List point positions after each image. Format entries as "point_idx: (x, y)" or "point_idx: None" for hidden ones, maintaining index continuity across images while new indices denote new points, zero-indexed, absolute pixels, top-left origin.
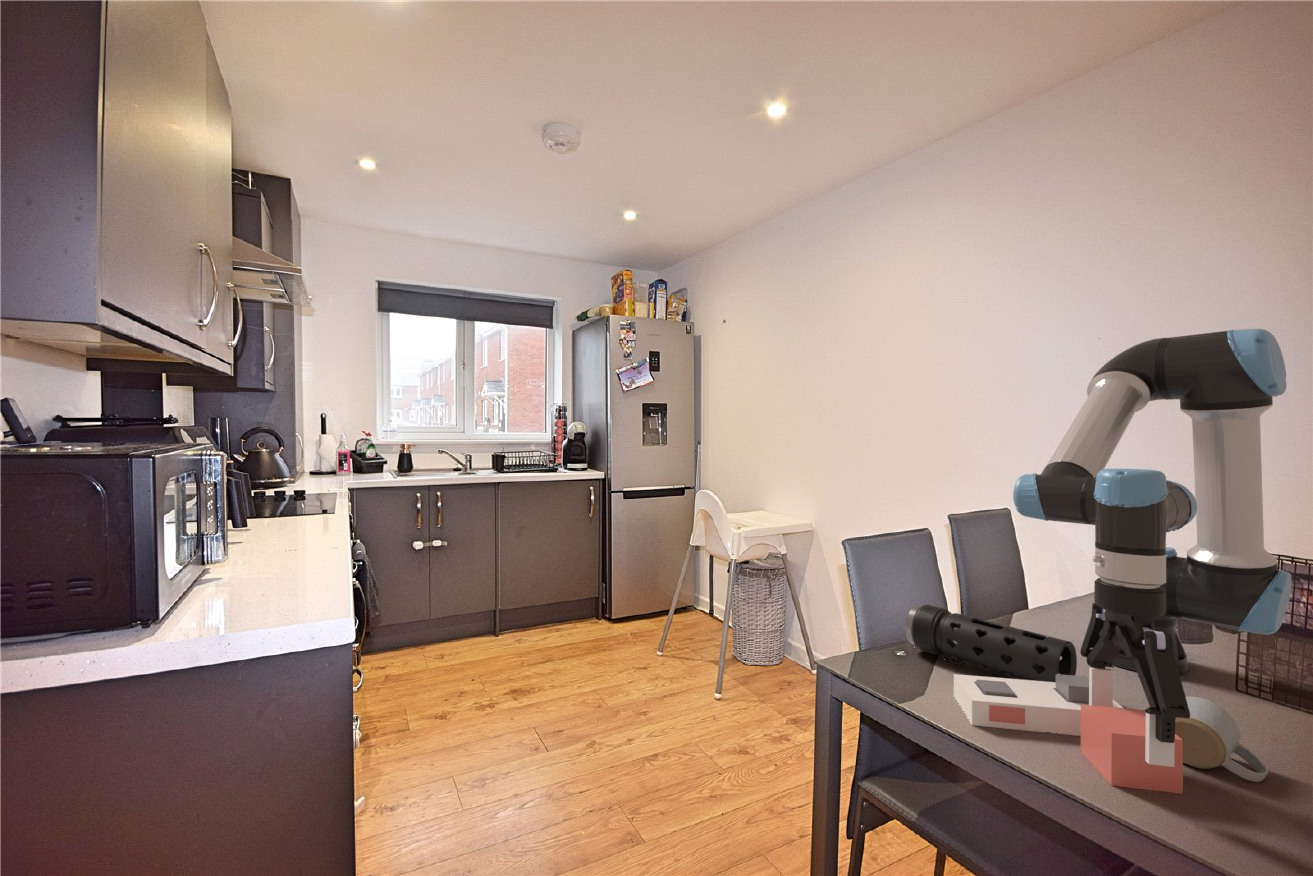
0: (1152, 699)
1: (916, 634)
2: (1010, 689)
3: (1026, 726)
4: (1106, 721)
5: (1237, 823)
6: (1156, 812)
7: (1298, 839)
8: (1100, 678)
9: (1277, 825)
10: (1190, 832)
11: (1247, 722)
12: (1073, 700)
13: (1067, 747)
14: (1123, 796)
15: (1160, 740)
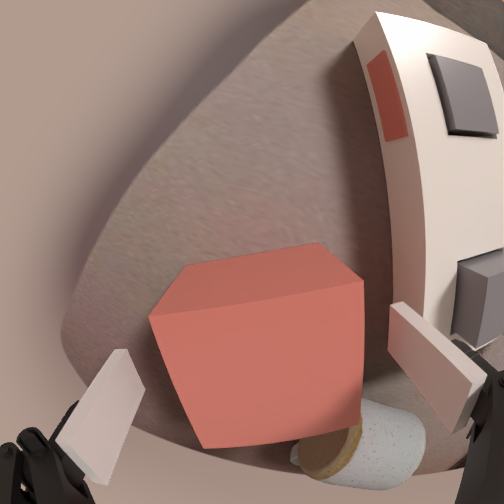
0: (34, 475)
1: None
2: (471, 127)
3: (385, 146)
4: (238, 329)
5: (162, 401)
6: (128, 311)
7: (163, 436)
8: (446, 386)
9: (185, 434)
10: (100, 335)
11: (436, 450)
12: (461, 277)
13: (333, 219)
14: (155, 275)
15: (76, 402)
